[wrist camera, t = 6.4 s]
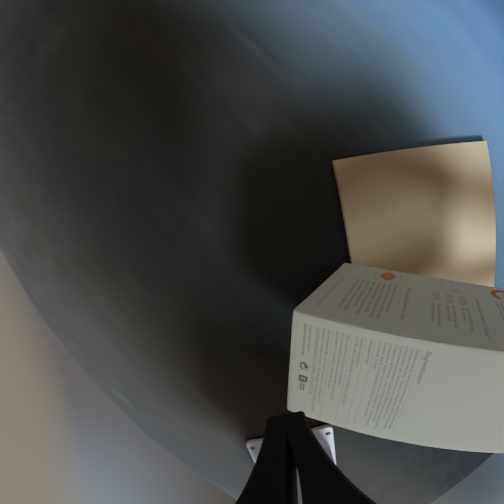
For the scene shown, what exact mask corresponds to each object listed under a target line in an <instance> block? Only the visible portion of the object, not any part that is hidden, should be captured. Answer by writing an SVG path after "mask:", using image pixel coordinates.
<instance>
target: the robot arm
mask: <svg viewBox="0 0 504 504" xmlns="http://www.w3.org/2000/svg"><path fill="white" fill-rule="evenodd" d="M246 446H247V448H248V450H249V452H250V455H251V457H252V459H253V461H254V463H255V465H254V468H253V470H252V472H251V475H250V477H249V479H248V482H247V484H246V486H245V488H244V490H243V491H242V493H241V495H240V497H239V499H238V500H237V502H236V504H376V503H375V502H374V501H373V500H371V499H370V498H369V497H367V496H366V495H365V494H364V493H363V492H361V491H360V490H359V489H358V488H357V487H356V486H355V485H354V484H353V483H352V482H351V481H350V480H349V479H348V478H347V477H346V476H345V475H344V474H343V473H342V472H341V471H340V469H339V468H338V467H337V466H336V456H335V446H334V436H333V428H332V426H331V425H323V426H319V427H315V428H310V426H309V423H308V421H307V419H306V416H305V412H303V411H299V412H294V413H289V414H284V415H279V416H273V417H269V418H268V419H267V421H266V428H265V433H264V437H263V438H259V439H253V440H248V441H247V442H246Z"/></svg>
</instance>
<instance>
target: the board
mask: <svg viewBox="0 0 504 504" xmlns="http://www.w3.org/2000/svg"><path fill="white" fill-rule="evenodd" d="M332 164H333V169H334V173H335V178H336V183H337V187H338V192H339V197H340V202H341V208H342V213H343V218H344V224H345V230H346V236H347V242H348V248H349V255H350V262H351V264H356V265H362V266H368V267H374V268H380V269H386V270H392V271H398V272H404V273H410V274H417V275H423V276H430V277H436V278H442V279H448V280H454V281H460V282H466V283H472V284H478V285H484V286H490V287H494V278H495V258H496V223H495V203H494V191H493V181H492V173H491V165H490V159H489V152H488V147H487V141H478V142H465V143H454V144H444V145H434V146H426V147H417V148H410V149H402V150H395V151H388V152H381V153H375V154H369V155H362V156H356V157H351V158H345V159H339V160H334V161H332Z"/></svg>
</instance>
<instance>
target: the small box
mask: <svg viewBox="0 0 504 504" xmlns="http://www.w3.org/2000/svg"><path fill="white" fill-rule="evenodd" d="M287 409H288V410H290V411H292V412H299V411H303V412H305V416H307V417H310V418H313V419H316V420H319V421H322V422H326V423H329V424H332V425H336V426H339V427H343V428H346V429H350V430H353V431H357V432H360V433H364V434H368V435H372V436H377V437H381V438H386V439H390V440H395V441H401V442H406V443H411V444H417V445H422V446H429V447H436V448H444V449H452V450H461V451H473V452H490V453H504V289H502V288H497V287H490V286H484V285H478V284H472V283H466V282H460V281H454V280H448V279H442V278H436V277H430V276H423V275H417V274H410V273H404V272H398V271H392V270H386V269H380V268H374V267H368V266H362V265H356V264H350V263H344V264H343V265H342V266H341V267H340V268H339V269H338V270H337V271H336V272H334V273H333V274H332V275H331V276H330V277H329V278H328V279H327V280H326V281H325V282H324V283H323V284H322V285H320V286H319V287H318V288H317V289H316V290H315V291H314V292H313V293H312V294H311V295H309V296H308V297H307V298H306V299H305V300H304V301H303V302H302V303H301V304H299V305H298V306H297V307H296V308H295V309H294V310H293V320H292V334H291V349H290V365H289V378H288V396H287Z"/></svg>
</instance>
